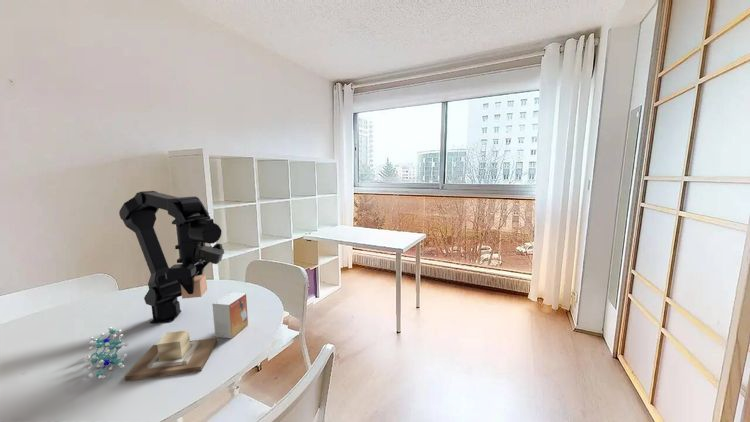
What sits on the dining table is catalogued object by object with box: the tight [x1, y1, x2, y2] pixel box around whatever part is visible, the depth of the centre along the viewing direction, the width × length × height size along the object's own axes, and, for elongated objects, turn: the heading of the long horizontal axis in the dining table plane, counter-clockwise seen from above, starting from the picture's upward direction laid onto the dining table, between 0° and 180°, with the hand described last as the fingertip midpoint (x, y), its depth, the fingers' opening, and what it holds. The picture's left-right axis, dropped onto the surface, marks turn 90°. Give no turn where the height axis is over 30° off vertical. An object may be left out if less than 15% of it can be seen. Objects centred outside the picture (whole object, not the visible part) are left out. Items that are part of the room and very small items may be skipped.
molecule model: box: [83, 326, 129, 380], centre depth 71 cm, size 8×18×7 cm, turn 44°
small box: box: [212, 292, 249, 340], centre depth 85 cm, size 8×6×10 cm
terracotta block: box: [181, 274, 208, 299], centre depth 85 cm, size 5×5×5 cm
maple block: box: [156, 330, 191, 362], centre depth 72 cm, size 5×5×5 cm
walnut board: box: [124, 337, 219, 382], centre depth 73 cm, size 16×12×2 cm
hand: (194, 290), depth 85 cm, fingers closed on terracotta block, 5 cm apart
